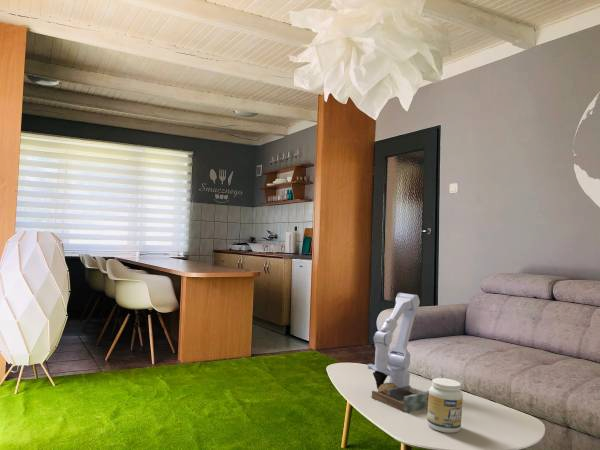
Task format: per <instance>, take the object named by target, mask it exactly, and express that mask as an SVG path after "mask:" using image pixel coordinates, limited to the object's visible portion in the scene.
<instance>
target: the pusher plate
mask: <svg viewBox="0 0 600 450" xmlns="http://www.w3.org/2000/svg"><path fill="white" fill-rule="evenodd" d="M410 387H411V385H410V384H409V385H408V386H403V387H398V388H393V389H388V397H391V398H393V399H396V400H398V401H401V402H402V401H404V396H408V395H410V391H411V388H410Z"/></svg>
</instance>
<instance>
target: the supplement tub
mask: <svg viewBox="0 0 600 450" xmlns="http://www.w3.org/2000/svg"><path fill="white" fill-rule="evenodd" d="M428 391H429V399H428V407H427V415H426V417H427V419H426V422H427V425H428V426H429V427H430V428H431V429H433V430H436V431H438V432H442V433H446V434H447V433H448V434H455V433H458V432H459V431H460V430H461V429H462V428H461V427H462V413H463V412H462V411H463V398H464V396H463V395H464V394H463V393H462V386H461V383H460V382H459V381H457V380H454V379H451V378H450V379H449V378H444V377H437V378H433V379H432V380H431V386H430V387H429V390H428Z"/></svg>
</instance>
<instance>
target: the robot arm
mask: <svg viewBox="0 0 600 450" xmlns="http://www.w3.org/2000/svg"><path fill="white" fill-rule="evenodd" d="M420 303H421V301H420V298H419V295H418V294H411V293H404V292H398V293H397V295H396V297H395V304H394V308H393V310H392V311H391V315H390V316H389V317H388V318H386V319H385V320H384V322H383V324H382V326H381V327H380V328H379V330H377V331H375V333H374V335H373V342H374V347H375V352H374V353H375V354H374V364H373V363H367V369H368V370H372V371H374V372H372V376H373V377H374V381H375V384H376V389H377V390H378V388H379V386H380V385H381V384H384V383H386V379H387V378H388V383H394V384H395V385H397V386H399V387H403V386H408V385H410V379H411V378H410V377H411V372H410V370H409V369H408V368H409V367H410V363H411V353H410V351H408V349H407V347H408V344H409V340H410V336H411V332H412V330H413V329H412V328H413V324H414V320H415V316H416V315H417V314H418V311H419V309H420V308H419V307H420ZM402 315H403V316H402ZM401 316H402V320H401V323H400V327H399V331H398V336H397V339H396V343H395V345H394V346H392V347H390V345H391V343H392V341H393V337H394V332H395V330H396V328H397V327H398V321H399V319H400V318H401ZM389 347H390V349H389ZM411 388H412V387H411V386H410V389H411Z"/></svg>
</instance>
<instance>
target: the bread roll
mask: <svg viewBox="0 0 600 450" xmlns="http://www.w3.org/2000/svg"><path fill="white" fill-rule="evenodd" d="M393 388H398V387H397V385H395V384H394V383H389V382H384V384H381V385H380V386H379V388H378V389H377V392H378V393H381V394H383V395H386V396H388V389H393Z"/></svg>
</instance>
